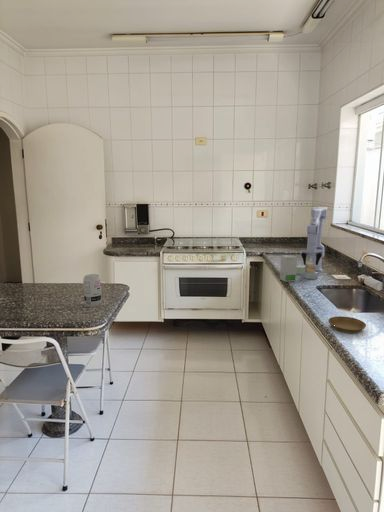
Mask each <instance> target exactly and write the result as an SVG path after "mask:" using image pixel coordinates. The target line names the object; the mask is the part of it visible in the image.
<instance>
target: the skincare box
mask: <svg viewBox="0 0 384 512" xmlns="http://www.w3.org/2000/svg"><path fill="white" fill-rule="evenodd" d="M297 264H298V256H296V255H293V254H292V255H280V270H279V280H280V281H282V282H284V283H286V282H289V283H290V282H296V281H297V274H296V268H297V266H298V265H297Z"/></svg>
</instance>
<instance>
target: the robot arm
mask: <svg viewBox="0 0 384 512" xmlns="http://www.w3.org/2000/svg"><path fill="white" fill-rule="evenodd" d="M310 212H311V214H310V215H311V218H312V219H311V220H310V222H309V225H307V227H306V228H307V229H306V233H307V235H306V236H307V245H306V249H303V250H302V249H301V250H299V254H300V255H301V257H302V261H303V266H306V263H307V256H309V257H310V258H309V263H313V264H315V265H316V266H315V272H317V271H321V272H323V271H324V270H323V269H322V261H323V260H322V258H324V257H325V246H324V245H323V244H322V233H323V223H324V221H325V220H327V217H328V207H326V206H325V207H323V206H322V207H321V206H320V207H319V206H312V207H311V211H310ZM307 254H308V255H307Z"/></svg>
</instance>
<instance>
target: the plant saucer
mask: <svg viewBox="0 0 384 512" xmlns="http://www.w3.org/2000/svg"><path fill="white" fill-rule="evenodd" d="M327 321H328V323H329V325H330V326H331V327H332V328H333V329H335V330H336V331H339V332H342V333H345V332H346V333H347V334H357V333H359V332H362V331H363V330H364V329H365V328H366V327H367V324H366V323H365V322H364V321H363V320H361V319H358V318H355V317H350V316H341V315H340V316H332V317H329V319H328V320H327ZM334 325H335V326H334Z"/></svg>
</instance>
